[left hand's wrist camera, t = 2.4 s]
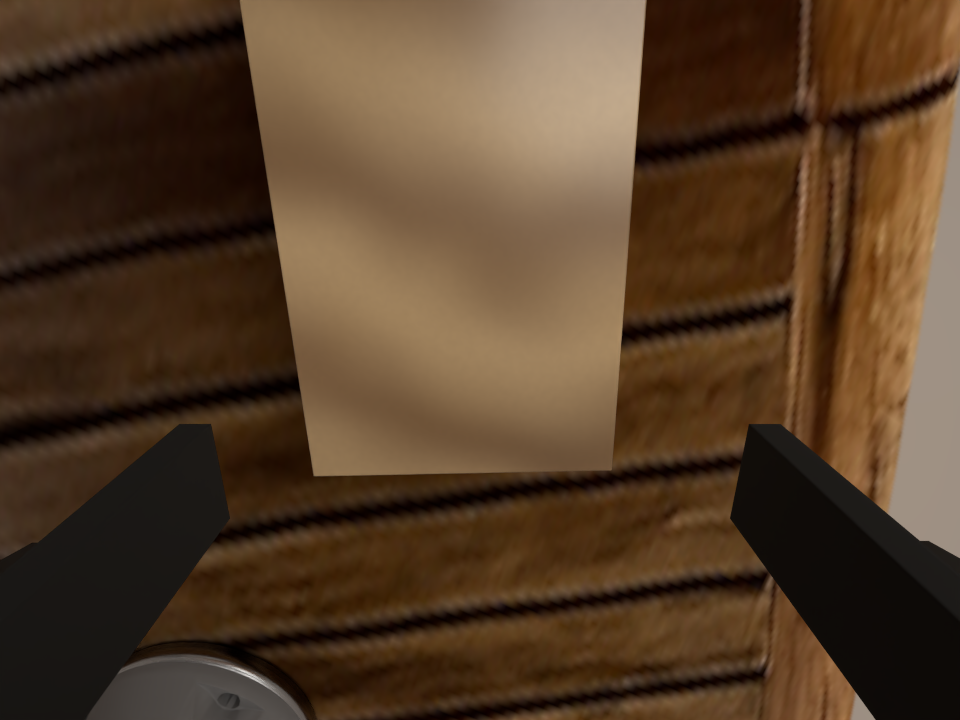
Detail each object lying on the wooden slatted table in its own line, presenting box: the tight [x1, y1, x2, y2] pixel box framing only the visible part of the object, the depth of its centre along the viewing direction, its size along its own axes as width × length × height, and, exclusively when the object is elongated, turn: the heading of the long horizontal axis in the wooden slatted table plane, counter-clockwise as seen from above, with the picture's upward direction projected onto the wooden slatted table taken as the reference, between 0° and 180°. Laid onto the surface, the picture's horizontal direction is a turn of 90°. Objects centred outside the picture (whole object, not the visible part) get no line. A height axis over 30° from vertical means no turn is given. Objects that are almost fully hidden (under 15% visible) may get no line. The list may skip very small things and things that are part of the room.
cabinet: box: [240, 0, 646, 476], centre depth 20 cm, size 20×11×8 cm, turn 1°
